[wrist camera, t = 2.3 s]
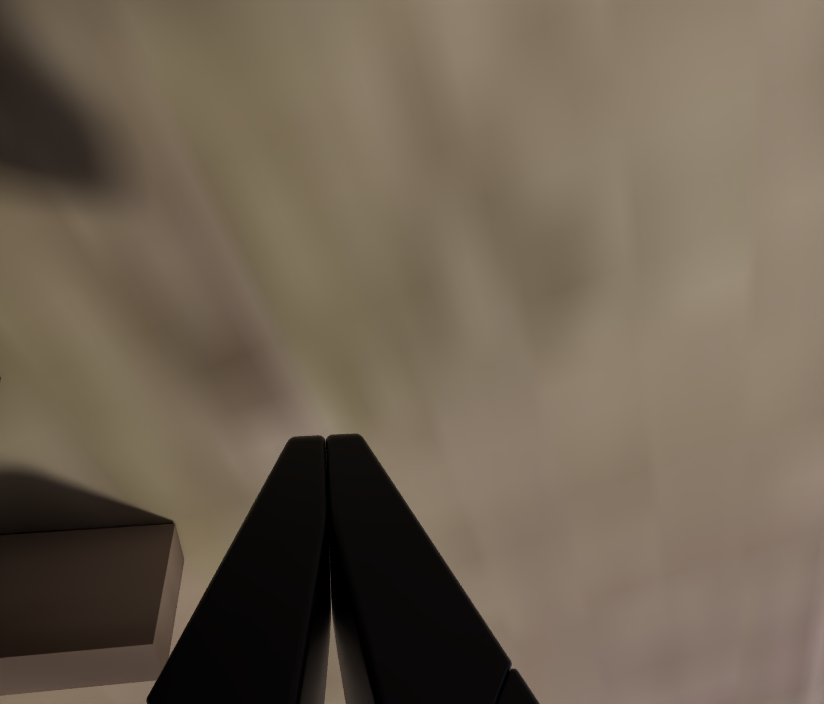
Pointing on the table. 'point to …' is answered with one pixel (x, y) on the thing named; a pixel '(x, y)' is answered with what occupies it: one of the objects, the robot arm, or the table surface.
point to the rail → (87, 606)
